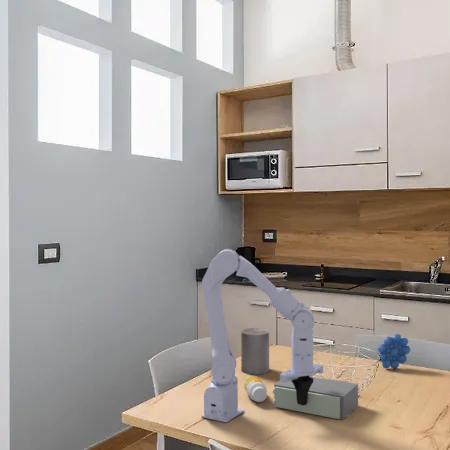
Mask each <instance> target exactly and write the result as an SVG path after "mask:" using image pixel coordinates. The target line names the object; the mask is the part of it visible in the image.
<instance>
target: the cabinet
mask: <svg viewBox="0 0 450 450" xmlns="http://www.w3.org/2000/svg"><path fill="white" fill-rule="evenodd" d="M309 377H311V378H313V383H312V385H311V387H310V389H309V391H308V392H311V393H317V394H323V395H329V396H335V397H340V419H339V420H345V419H346V418H347V417H349V415H350V414H351V413H352V412H353V411H354V410H355V409H357V407H358V406H359V384H358V383H355V382H354V383H353V382H349V381H341V380H334V379H329V378H323V377H322V378H321V377H317V376H316V377H315V376H309ZM275 387H282V388H288V389H294V390H296V389H295V386H294V384H293V383H292V381H291V380H290V381H288V382H287V383H284V382H281V381H280V380H278V382H276V383H274V385H273V388H275ZM273 395H274V397H273V399H275V394H273ZM273 406H274V407H275V405H273Z"/></svg>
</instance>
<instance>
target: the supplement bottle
mask: <svg viewBox="0 0 450 450" xmlns="http://www.w3.org/2000/svg"><path fill="white" fill-rule="evenodd" d="M243 387H244V390H245V392H246V394H247V395H248V397H249V398H250V399H251V400H253V401H255V402H258V403H261V402H264V401H265V400H266V398H267V395H268V393H267V392H268V391H267V386H266V385H265V384H264V382H263V381H262V379H260V377H259V376H256V375H251V376H248V377H247V378H246V379H245V381H244V383H243Z"/></svg>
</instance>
